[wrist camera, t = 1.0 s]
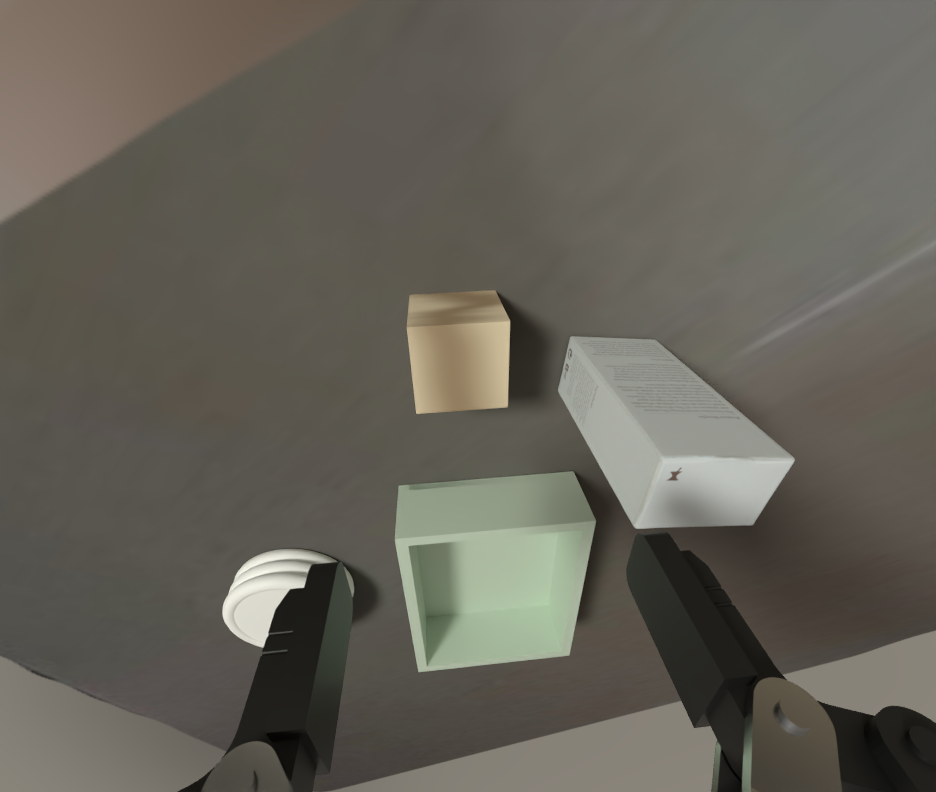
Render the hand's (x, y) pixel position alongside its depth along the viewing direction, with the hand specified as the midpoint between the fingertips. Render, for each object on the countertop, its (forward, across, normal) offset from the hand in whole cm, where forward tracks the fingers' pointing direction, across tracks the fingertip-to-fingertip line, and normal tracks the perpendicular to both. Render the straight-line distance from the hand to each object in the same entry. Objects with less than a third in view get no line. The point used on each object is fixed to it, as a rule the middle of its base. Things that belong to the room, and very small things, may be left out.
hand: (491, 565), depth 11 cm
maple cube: (+17, 0, 0) cm, 17 cm away
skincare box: (+17, -10, +3) cm, 20 cm away
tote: (+16, -2, +21) cm, 27 cm away
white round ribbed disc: (+17, +15, +23) cm, 32 cm away
